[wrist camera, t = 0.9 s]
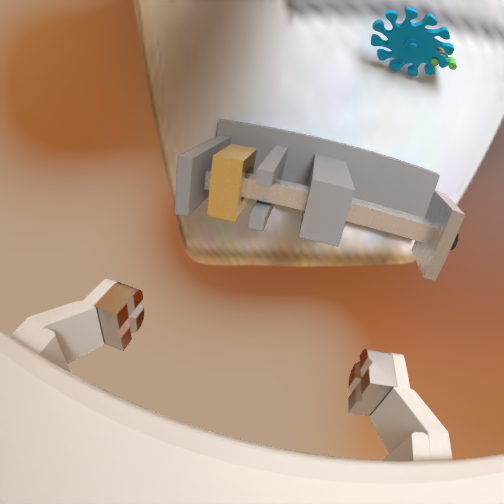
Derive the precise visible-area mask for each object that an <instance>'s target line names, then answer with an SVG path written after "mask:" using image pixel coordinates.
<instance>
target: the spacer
mask: <svg viewBox="0 0 504 504" xmlns="http://www.w3.org/2000/svg"><path fill="white" fill-rule="evenodd" d="M256 153H257V148H252V147H246V146H240V145H235V144H230V145H229V146H227V147H226V148H224V149H223V150H221V151H219V152H218V153H216V154H215V155H213V160H212V169H211V179H210V188H209V199H208V210H207V216H209V217H214V218H218V219H223V220H227V221H232V222H235V221H236V220H237V218H238V217H239V215H240V214H241V212H242V210H243V209H244V207H245V206H246V204H247V203H248V201H249V198H245V197H242V191H243V184H244V178H245V173H250V174H253V172H254V165H255V159H256Z"/></svg>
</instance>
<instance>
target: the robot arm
mask: <svg viewBox="0 0 504 504" xmlns="http://www.w3.org/2000/svg"><path fill="white" fill-rule="evenodd" d="M142 300H143V294H142V291H141V290H139V289H136V288H133V287H131V286H128V285H125V284H122V283H120V282H116V281H114V280H111V279H104V280H103V281H102V282H101V283H100V284H99V285H98V286H97V287H96V288H95V289H94V290H93V291H92V292H91V293H90V294H89V295H88V296H87V297H86V298H85V299H84V300H83V301H76V302H73V303H70V304H67V305H63V306H60V307H57V308H54V309H51V310H48V311H45V312H42V313H39V314H36V315H33V316H30V317H28V318H27V319H26V320H25V321H24V322H23V323H22V324H21V325H20V326H19V327H18V328H17V330H15V331H14V332H13V333H12V334H11V336H10V335H8V334H7V333H6V332H4V331H3V330H2V329H0V504H504V454H500V455H494V456H487V457H479V458H470V459H459V460H452V453H451V446H450V441H449V434H448V431H447V430H446V429H445V428H444V426H443V425H442V424H441V423H440V421H439V420H438V419H437V418H436V416H435V415H434V414H433V413H432V411H431V410H430V409H429V408H428V407H427V405H426V404H425V403H424V402H423V401H422V399H421V398H420V397H419V396H418V395H417V393H416V392H415V391H414V390H412V389H410V385H409V380H408V374H407V369H406V364H405V359H404V356H403V355H401V354H395V353H388V352H382V351H376V350H370V349H364V350H363V351H362V353H361V354H360V361H359V362H358V363H356V364H355V365H354V367H353V368H352V370H351V374H350V377H349V389H350V391H351V392H352V393H351V395H350V396H349V398H348V399H349V400H348V403H349V404H348V405H349V407H348V412H349V413H353V414H360V415H366V416H370V419H371V421H372V423H373V425H374V426H375V428H376V430H377V432H378V434H379V436H380V438H381V439H382V441H383V443H384V445H385V447H386V449H387V450H388V452H389V455H388V456H386V457H385V458H384V459H383V460H382V461H379V460H363V459H351V458H341V457H333V456H325V455H318V454H310V453H304V452H298V451H293V450H287V449H281V448H277V447H272V446H267V445H263V444H258V443H254V442H250V441H246V440H242V439H238V438H234V437H230V436H227V435H223V434H220V433H216V432H213V431H209V430H206V429H203V428H200V427H196V426H193V425H190V424H187V423H184V422H182V421H179V420H176V419H173V418H170V417H167V416H165V415H162V414H159V413H157V412H154V411H152V410H149V409H147V408H144V407H142V406H139V405H137V404H135V403H132V402H130V401H128V400H125V399H123V398H121V397H119V396H116V395H114V394H112V393H110V392H108V391H106V390H103V389H101V388H99V387H97V386H95V385H93V384H91V383H89V382H87V381H85V380H83V379H81V378H80V377H78V376H76V375H74V374H72V373H71V372H70V370H69V368H68V365H67V364H68V363H70V362H72V361H74V360H76V359H78V358H80V357H82V356H84V355H86V354H88V353H89V352H91V351H93V350H95V349H97V348H99V347H101V346H103V345H104V343H105V344H107V345H110V346H112V347H115V348H117V349H120V350H123V351H124V349H125V348H126V346H127V345H128V344H129V342H130V341H131V339H132V338H131V334H132V333H134V332H136V331H138V329H139V328H140V326H141V324H142V321H143V319H144V308H143V306H142V305H141V304H140V302H141V301H142Z"/></svg>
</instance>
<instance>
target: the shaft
mask: <svg viewBox="0 0 504 504" xmlns="http://www.w3.org/2000/svg"><path fill="white" fill-rule="evenodd" d="M211 169H212V167H210V168H209V169H208V170H206V173H205V184H204V189H206V190H209V188H210V179H211ZM255 179H256V175H255V174H250V173H245V178H244V184H243V191H242V197H245V198H250V199H254V200H259V201H264V202H268V203H272V204H277V205H281V206H286V207H290V208H294V209H298V210H303V211H305V207H306V203H307V198H308V194H309V190H310V187H309V186H305V185H301V184H296V183H292V182H288V181H283V180H279V179H275V180H274V182H273V184H272V186H271V188H270V187H266V186H261V185H256V184H255ZM464 216H465V214H464V213H463V212H462V211H461V210H460V209H459V208H458V206H457V205H456V204H455V203H454V202H453V201H452V200H451V199H450V198H449V197H448V196H447V195H446V194H443V193H441V192H438V191H435V190H434V192H433V195H432V198H431V201H430V204H429V207H428V209H427V212H426V215H425V217H424V218H421V217H418V216H415V215H412V214H409V213H405V212H402V211H399V210H395V209H392V208H389V207H385V206H382V205H378V204H375V203H371V202H368V201H364V200H360V199H357V198H353V199H352V203H351V206H350V209H349V213H348V216H347V219H346V221H347V222H351V223H355V224H358V225H362V226H366V227H370V228H373V229H377V230H381V231H384V232H388V233H392V234H395V235H399V236H402V237H406V238H409V239H413V240H415V243H414V245H413V247H412V252H413V255H414V257H415V259H416V261H417V263H418V266H419V268H420V270H421V273H422V275H423V277H424V278H427V279H431V280H436V278H437V276H438V274H439V272H440V270H441V268H442V266H443V264H444V262H445V260H446V258H447V256H448V253H449V251H450V250H452V249H454V248H455V246H456V244H457V241H458V231H459V228H460V226H461V224H462V221H463V218H464Z"/></svg>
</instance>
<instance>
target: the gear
mask: <svg viewBox="0 0 504 504" xmlns="http://www.w3.org/2000/svg"><path fill="white" fill-rule="evenodd" d="M405 13H406V19H405V20H404V22H403V23H401V24H398V23H396V22H395V21H396V20H397V12H396V11H395V10H388V11H385V14H386V18H387V19H388V20H389V21H390V22H391V24H392V26H393V29H392V30H386V29H385V28H384V23H383V22H382V21H381V20H377V21H375V22H374V23H373V29H374V30H375V31H378V32H381V33H383V34H384V35H385V36H386V37H387V38H388V40H387V41H384V40H382V39H381V38H380V37H379V36H378V35H376V34H373V35H372V37H371V45H373V46H384V47H387V48H389V49H391V50H392V51H390V52H388V51H386V50H384V49H378V50H377V55H378V58H379V59H380V60H382V61H383V60H386V59H388V58H391V57H396V58H400V59H401V60H392V61H391V62H390V66H391V68H392V69H393V70H395V71H396V72H397V71H399V70H400V69H401V67H402V66H403V65H404V64H407V63H413V65H411V66H409V67H408V74H410V75H412V76H417V75H418V70H417V69H418V66H419V65H420V64H421V63H423V62H424V63H427V64H426V65H425V72H426V74H428V75H432V74H435V68H434V66H433V65H438V64H439V66H440V67H442V68H443V67H446V66H447V65H449V68H450V69H456V67H457V66H456V62H455V59H454V58H453V57H448V55H451V54H452V53H453V51H454V47H453V45H452V44H451V43H444V42H440V41H438V40H437V39H435V38H434V37H435V36H440V37H442V38H443V39H450V35H449V32H448V30H447V27H441V28H439V29H435V30H432V29H426V28H425V26H426V25H431V26H434V25H436V24H437V20H436V18H435V17H434V16H433V15H432V14H431V13H427V14H426V15H425V17H424V19H423V20H422V21H420V22H417V23H412V22H410V20H412V19H414V18H416V17H417V11H416V10H415V9H413V8H410V7H406V8H405ZM442 48H443V49H442ZM447 54H448V55H447Z"/></svg>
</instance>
